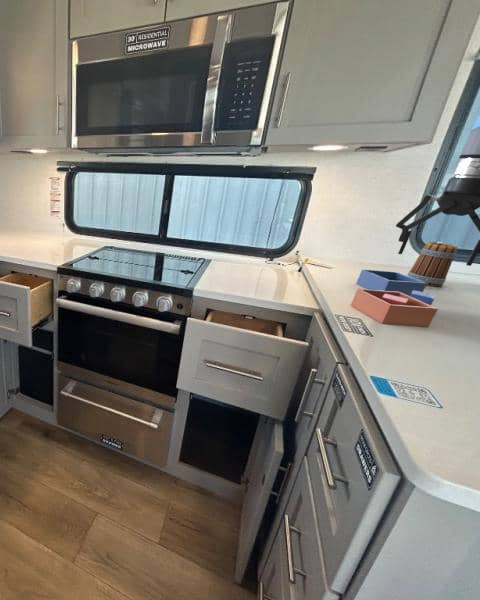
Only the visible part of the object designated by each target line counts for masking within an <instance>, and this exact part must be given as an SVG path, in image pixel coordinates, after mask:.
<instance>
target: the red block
mask: <svg viewBox="0 0 480 600" xmlns="http://www.w3.org/2000/svg"><path fill="white" fill-rule="evenodd" d="M381 300H383V301H385V302H387V303H389V304H392V305H405V304H406V302H407V300H408V299H406V298H402V297H398V296H394V295H389V294H384V296H383V297H382V299H381Z"/></svg>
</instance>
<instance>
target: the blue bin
mask: <svg viewBox="0 0 480 600" xmlns="http://www.w3.org/2000/svg"><path fill="white" fill-rule="evenodd" d="M356 285H358V286H360V287H362V288H363V289H367V290H381V291H394V292H401V293H403V294H405V295H408V296H410V295H411V293H412V291H413V290H415V291H419V292H424V291H425V289H426V288H427V283H425V282H422V281H419V280H417V279H414V278H411V277H409V276H407V274H403V273H401V272H398V271H388V270H375V269H361V271H360V273H359V276H358V278H357V281H356Z"/></svg>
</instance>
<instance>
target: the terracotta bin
mask: <svg viewBox="0 0 480 600" xmlns="http://www.w3.org/2000/svg"><path fill="white" fill-rule="evenodd" d="M384 294H389V295H394V296H398V297H402V298H406V299H408V300H407V302H406V304H405V305H392V304H389V303H387V302H385V301H383V300H381V299H382V297H383V296H384ZM350 306H351V307H353V308H354V309H356V310H358V311H359V312H361V313H363V314H364V315H366V316H368V317H370V318H371V319H373V320H375V321H377V322H378V323H380V324H383V325H384V324H385V325H393V326H394V325H395V326H406V327H407V326H408V327H421V328H429V326H430V325H431V323H432V321H433V319H434V317H435V315H436V313H437V312H438V310H439V308H438V307H436V306H433V305H432V304H431V305H428V304H426V303H424V302H422V301H419V300H417V299H415V298H412V297H410V296H408V295H405V294H403V293H401V292H394V291H381V290H368V289H366V288H357V289H356V292H355V294H354V296H353V298H352V301H351V304H350Z"/></svg>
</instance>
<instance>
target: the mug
mask: <svg viewBox="0 0 480 600" xmlns="http://www.w3.org/2000/svg"><path fill="white" fill-rule="evenodd" d="M457 251H458V245H455V244H451V243H444V242H441V241H437V242H436V241H427V242H426V243H425V244H424V246H423V247H422V249H421V251H420V253H419V255H418V257H417V259H416V260H415V262H414V263H413V266H412V267H411V269H410V270H408V273H407V274H406V276H409V277H411V278H414V279H417V280H419V281H422V282H425V283H427V285H426V287H436V288H437V287H442V286H443V285H444V284H445V282H446V279H447V275H448V273H449V271H450V268H451V266H452V264H453V261H454V259H455V257H456V255H457ZM428 285H430V286H428Z"/></svg>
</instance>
